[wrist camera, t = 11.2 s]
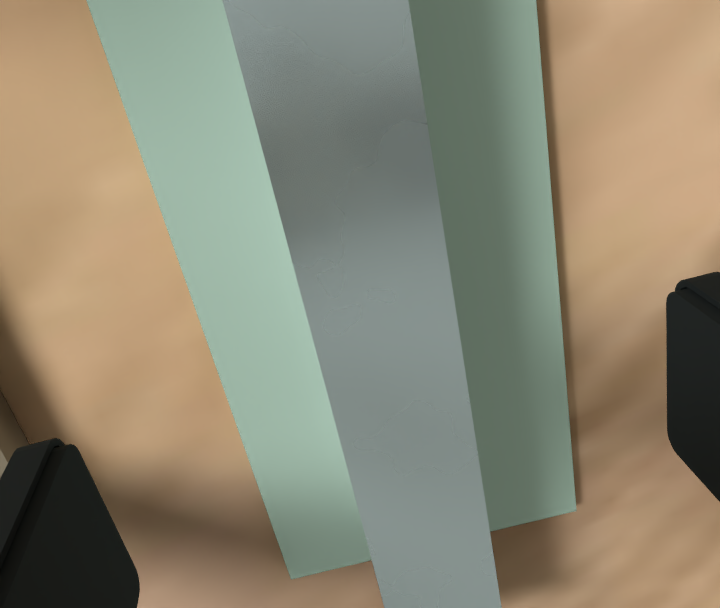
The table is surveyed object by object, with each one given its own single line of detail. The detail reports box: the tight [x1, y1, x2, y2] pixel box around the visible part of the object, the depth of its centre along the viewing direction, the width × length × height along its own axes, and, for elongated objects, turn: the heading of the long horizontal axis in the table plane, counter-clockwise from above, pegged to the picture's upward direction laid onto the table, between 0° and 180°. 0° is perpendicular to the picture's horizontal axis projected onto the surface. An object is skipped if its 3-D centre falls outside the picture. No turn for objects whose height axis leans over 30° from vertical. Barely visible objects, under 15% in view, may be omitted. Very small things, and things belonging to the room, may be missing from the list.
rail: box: [222, 0, 502, 608], centre depth 15 cm, size 24×3×3 cm, turn 11°
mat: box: [87, 0, 576, 579], centre depth 17 cm, size 20×9×1 cm, turn 12°
